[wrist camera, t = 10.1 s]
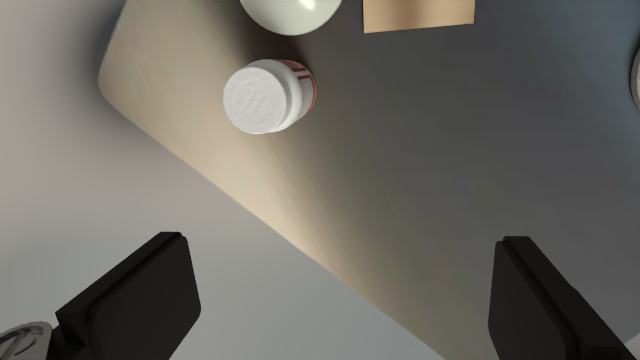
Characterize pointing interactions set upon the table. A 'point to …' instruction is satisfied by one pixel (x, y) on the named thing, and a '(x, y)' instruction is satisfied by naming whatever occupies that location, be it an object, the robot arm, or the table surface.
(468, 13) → the mat
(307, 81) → the pill bottle
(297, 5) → the lid
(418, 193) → the table surface
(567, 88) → the table surface
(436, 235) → the table surface
